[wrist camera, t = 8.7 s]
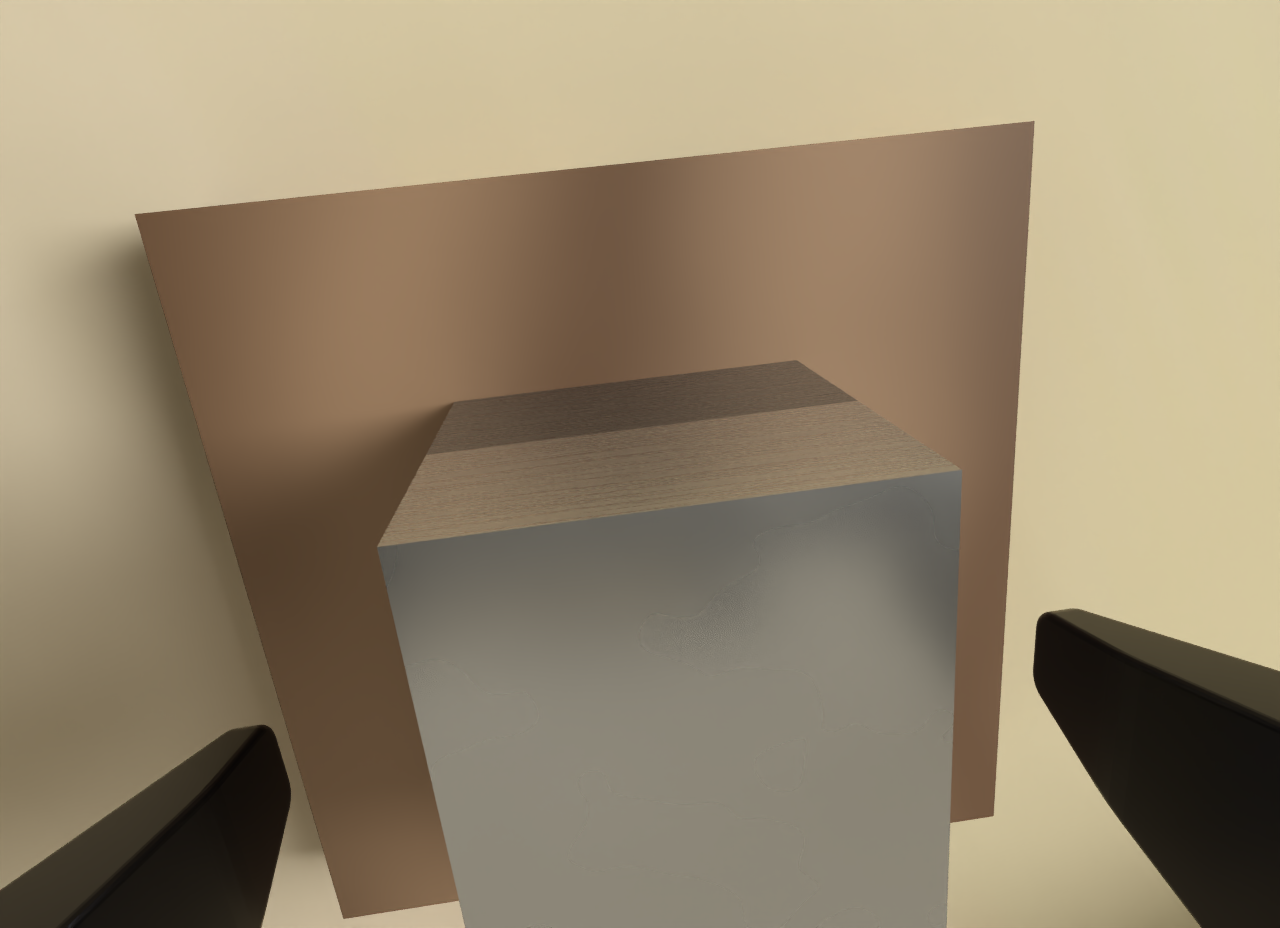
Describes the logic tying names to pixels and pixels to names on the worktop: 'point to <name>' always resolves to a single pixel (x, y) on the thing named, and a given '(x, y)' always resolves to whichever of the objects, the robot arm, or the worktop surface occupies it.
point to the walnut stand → (563, 358)
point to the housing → (684, 654)
